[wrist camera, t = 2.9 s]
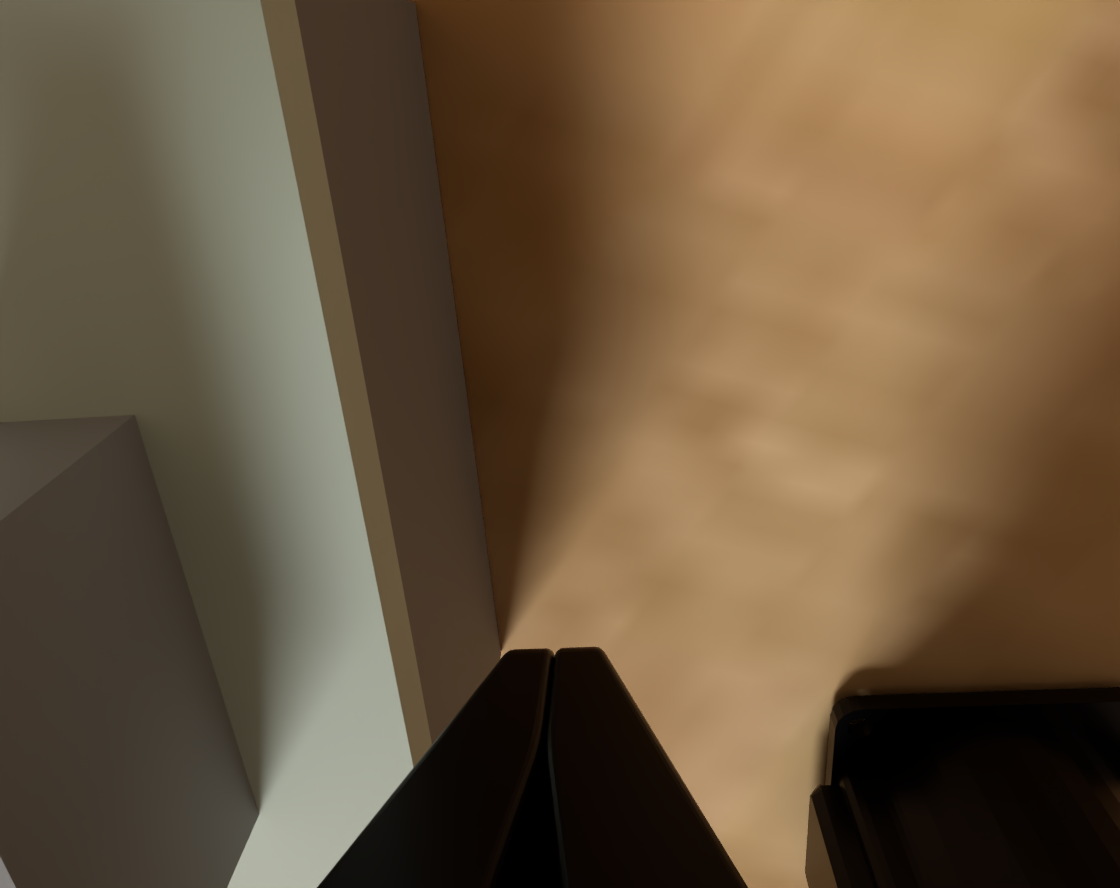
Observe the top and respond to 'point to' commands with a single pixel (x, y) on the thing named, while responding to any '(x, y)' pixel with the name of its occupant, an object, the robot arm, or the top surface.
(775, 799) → the top surface
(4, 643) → the sliding box lid
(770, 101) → the top surface
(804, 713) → the top surface
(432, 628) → the tray
